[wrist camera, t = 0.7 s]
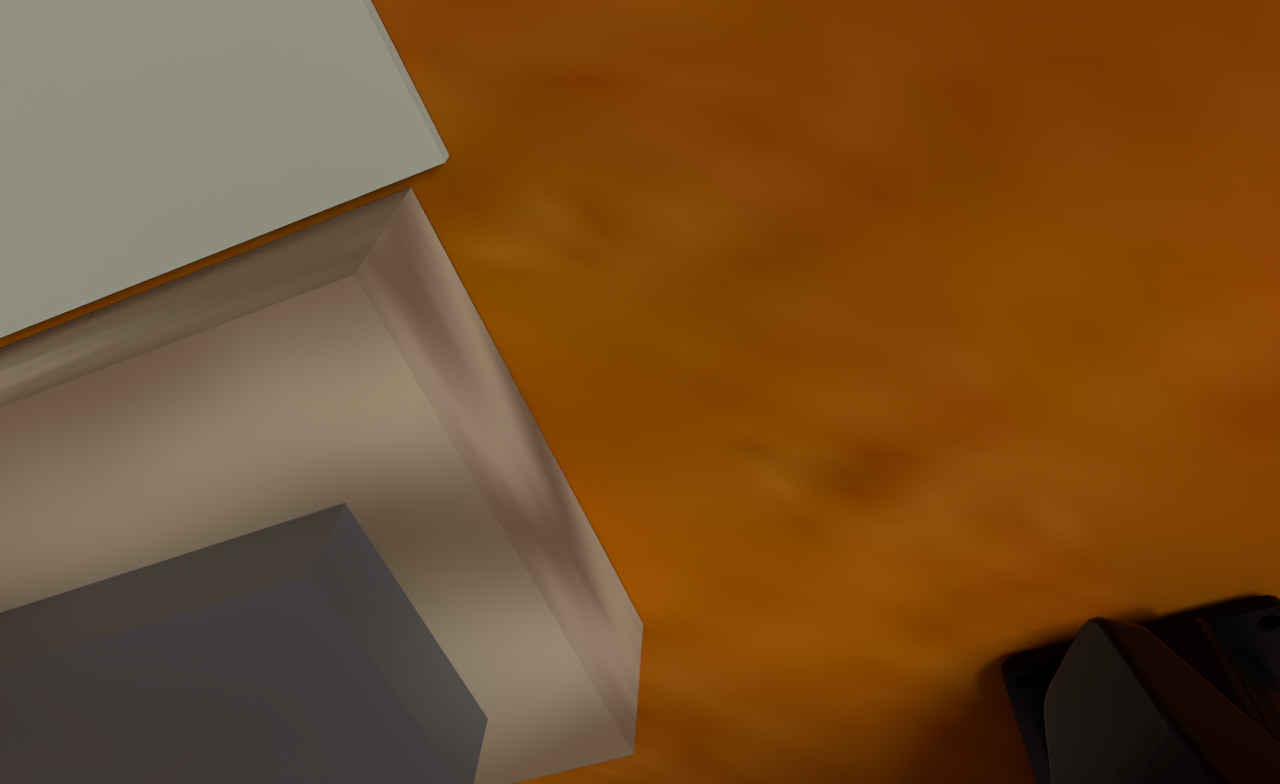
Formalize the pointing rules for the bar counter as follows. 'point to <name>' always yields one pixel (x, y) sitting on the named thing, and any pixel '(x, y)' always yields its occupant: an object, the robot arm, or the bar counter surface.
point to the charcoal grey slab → (237, 672)
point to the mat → (185, 134)
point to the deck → (329, 465)
